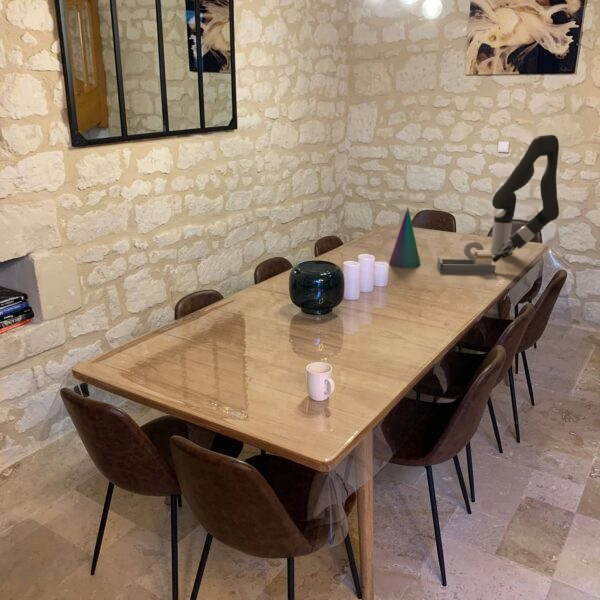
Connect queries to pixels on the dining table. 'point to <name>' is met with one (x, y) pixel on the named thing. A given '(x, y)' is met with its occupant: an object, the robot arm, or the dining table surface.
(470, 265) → the bay
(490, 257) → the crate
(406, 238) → the decorative cone
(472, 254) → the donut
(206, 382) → the dining table surface
